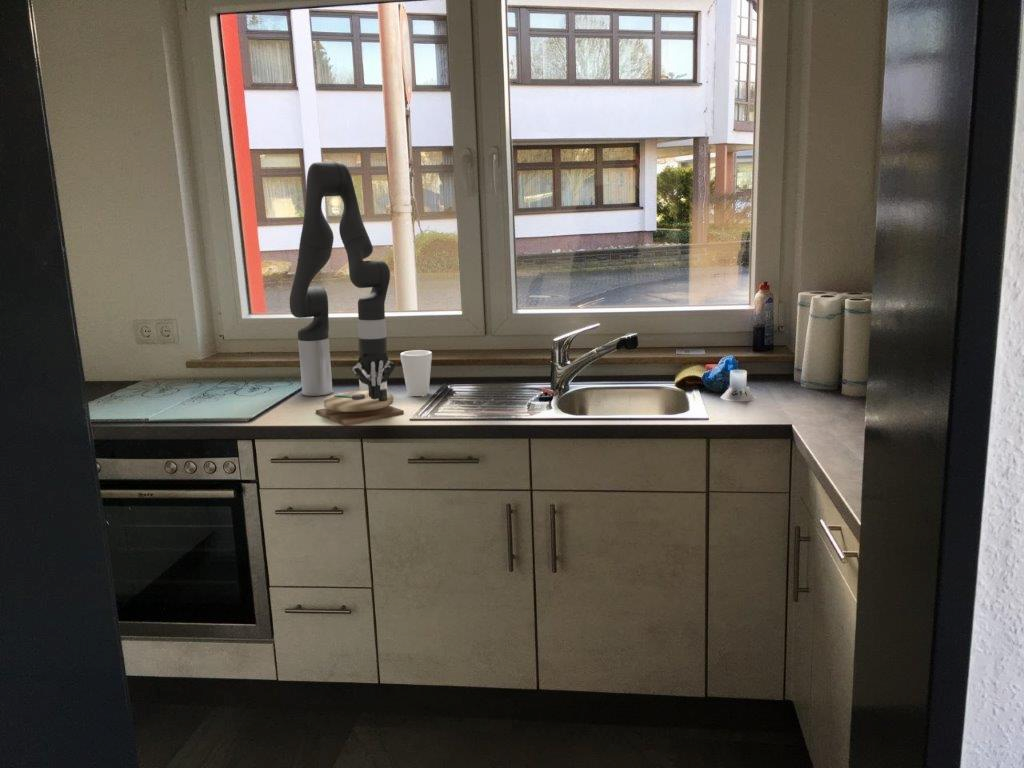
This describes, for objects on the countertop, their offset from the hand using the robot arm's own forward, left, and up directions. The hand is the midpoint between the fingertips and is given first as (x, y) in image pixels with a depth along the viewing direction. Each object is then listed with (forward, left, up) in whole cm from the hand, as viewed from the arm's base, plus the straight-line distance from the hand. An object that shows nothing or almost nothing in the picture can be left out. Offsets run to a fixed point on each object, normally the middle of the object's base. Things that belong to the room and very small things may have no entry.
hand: (374, 398), depth 227 cm
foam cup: (-17, +24, -6) cm, 30 cm away
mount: (-8, -1, -6) cm, 10 cm away
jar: (-23, +12, -6) cm, 27 cm away
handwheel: (-8, -1, -3) cm, 8 cm away
